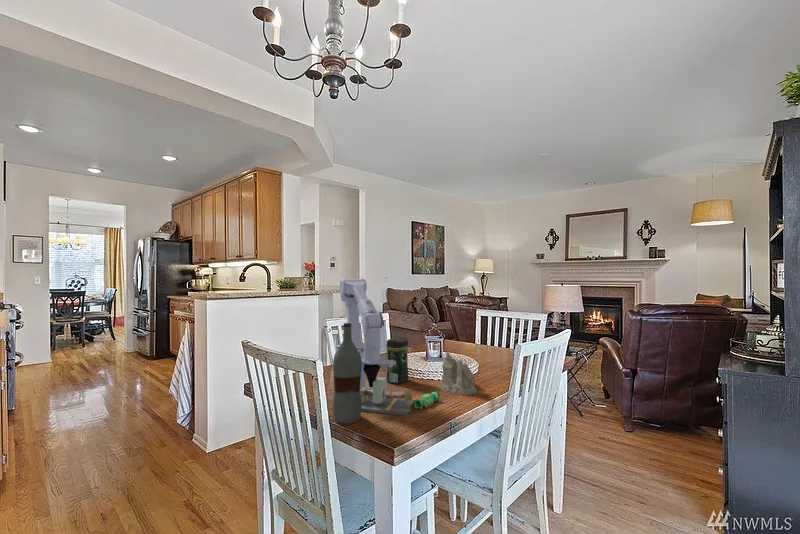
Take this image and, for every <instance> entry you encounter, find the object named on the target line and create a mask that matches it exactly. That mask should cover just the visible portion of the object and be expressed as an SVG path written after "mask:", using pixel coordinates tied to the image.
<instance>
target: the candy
mask: <svg viewBox="0 0 800 534" xmlns="http://www.w3.org/2000/svg"><path fill="white" fill-rule="evenodd" d="M440 398H441V394H440V393H439V391H432V392H431V393H426V394H423V395H421V396H420V399H413V400H414V402H413V404H412V405H413V409H418V408H420V409H419V410H422V409H423V407H424V406H425V407H424V408H427V407H429V406H432V405H433V404H434V402H436V401H437V402H438V401H439V400H440Z"/></svg>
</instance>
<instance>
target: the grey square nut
mask: <svg viewBox="0 0 800 534" xmlns="http://www.w3.org/2000/svg"><path fill="white" fill-rule="evenodd" d="M372 390H373V395H372V397H373V403H382V402H383V401H384V400H385V398H387V397H386V396H383V391H387V377H378V376H377V377H376V380H375V381H374V382H373V387H372Z"/></svg>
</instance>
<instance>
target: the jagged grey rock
mask: <svg viewBox="0 0 800 534" xmlns="http://www.w3.org/2000/svg"><path fill="white" fill-rule="evenodd" d="M443 359H444V360H443V364H442V369H443V370H442V375H441V383H440V387H439V388H440V390H442V391H444V392H445V393H446V392H447V393H450V394H455V395H458V396H472V394H473V395H475V394H476V393H477V392H478V389H477V388H476V387H475V385H476V381H475V378H476V376H475V374H474V373H473V372H472V371H471V369H470V367H469V365H468V364H467V363H463V360H462V359H458V361H457V360H456V359H455V358H452V355H451V354H450V352H449V351H447V352H446V353H445V357H444V358H443Z"/></svg>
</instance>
